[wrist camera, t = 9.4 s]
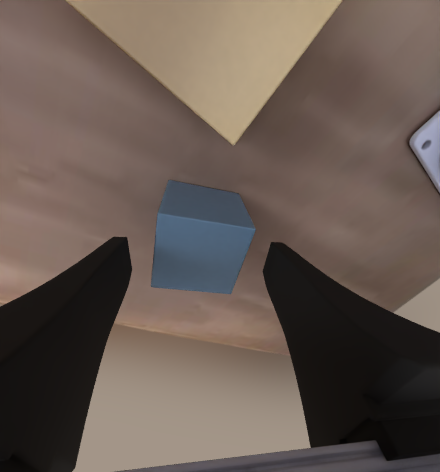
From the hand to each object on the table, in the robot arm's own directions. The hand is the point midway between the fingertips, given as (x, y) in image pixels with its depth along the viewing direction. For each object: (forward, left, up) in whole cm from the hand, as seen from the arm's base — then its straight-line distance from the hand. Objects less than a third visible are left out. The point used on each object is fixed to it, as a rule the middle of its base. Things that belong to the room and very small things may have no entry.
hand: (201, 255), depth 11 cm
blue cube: (0, 0, -4) cm, 4 cm away
